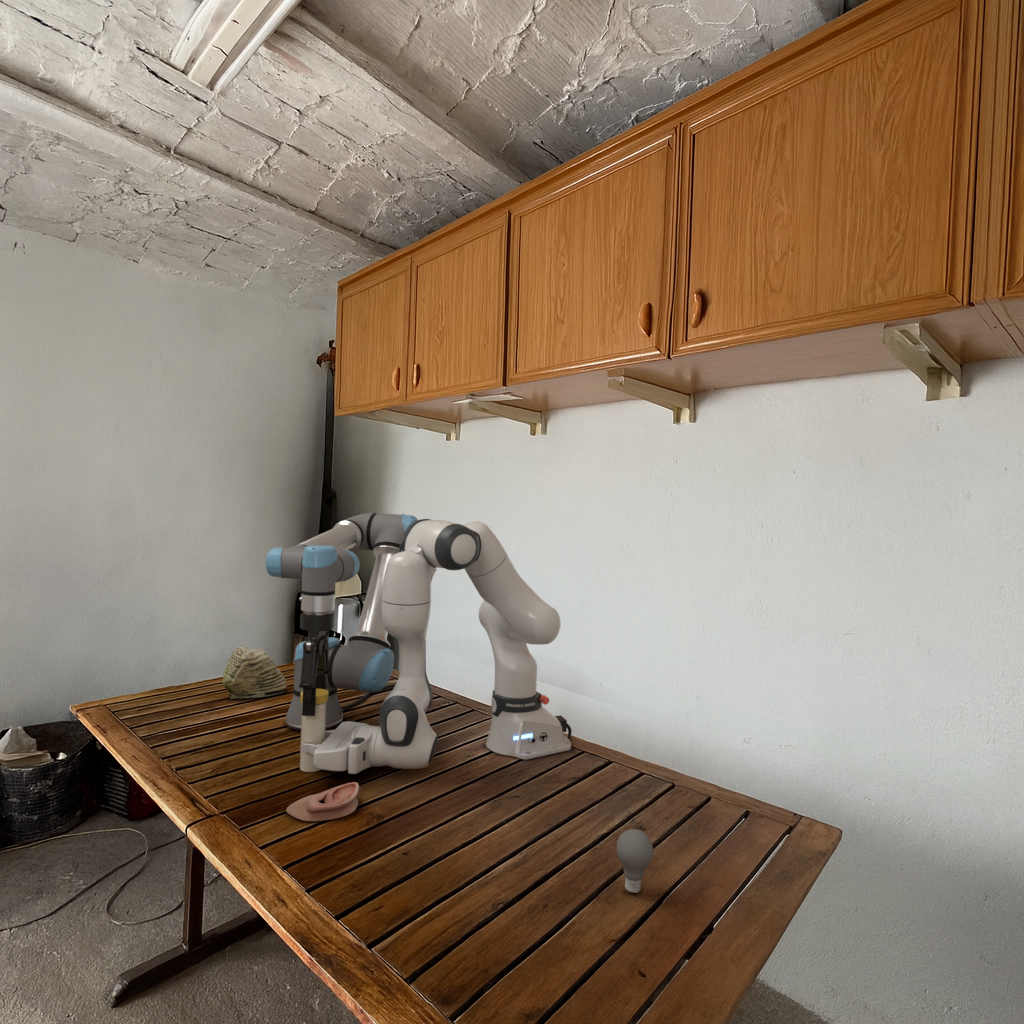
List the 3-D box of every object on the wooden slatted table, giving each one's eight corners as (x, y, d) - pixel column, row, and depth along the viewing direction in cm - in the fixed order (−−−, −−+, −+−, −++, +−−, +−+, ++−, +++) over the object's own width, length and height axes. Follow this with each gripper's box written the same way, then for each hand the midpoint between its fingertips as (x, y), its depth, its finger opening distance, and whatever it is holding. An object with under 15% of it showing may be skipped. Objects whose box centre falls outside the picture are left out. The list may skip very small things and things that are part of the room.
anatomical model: (278, 797, 124) (308, 772, 135) (277, 817, 124) (307, 791, 136) (340, 806, 122) (366, 781, 133) (339, 827, 122) (365, 799, 133)
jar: (301, 773, 144) (303, 700, 144) (298, 764, 149) (300, 693, 149) (325, 770, 147) (328, 697, 146) (321, 760, 152) (324, 690, 151)
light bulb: (610, 879, 108) (613, 822, 108) (644, 879, 109) (647, 822, 109) (619, 902, 102) (622, 840, 102) (655, 901, 103) (658, 840, 103)
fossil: (218, 695, 195) (220, 647, 195) (278, 685, 208) (279, 640, 207) (228, 703, 189) (230, 653, 188) (289, 692, 201) (290, 645, 201)
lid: (326, 694, 152) (326, 687, 152) (330, 702, 146) (330, 695, 146) (298, 697, 149) (299, 689, 149) (301, 705, 144) (302, 697, 144)
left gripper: (313, 603, 158) (310, 694, 158) (287, 620, 137) (283, 724, 137) (344, 605, 158) (340, 695, 158) (322, 621, 137) (318, 725, 137)
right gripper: (380, 716, 157) (325, 713, 158) (353, 748, 137) (291, 744, 138) (378, 742, 157) (324, 738, 158) (352, 777, 137) (290, 773, 138)
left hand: (314, 708), depth 148 cm, fingers open, 8 cm apart
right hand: (308, 741), depth 148 cm, fingers closed on jar, 5 cm apart
